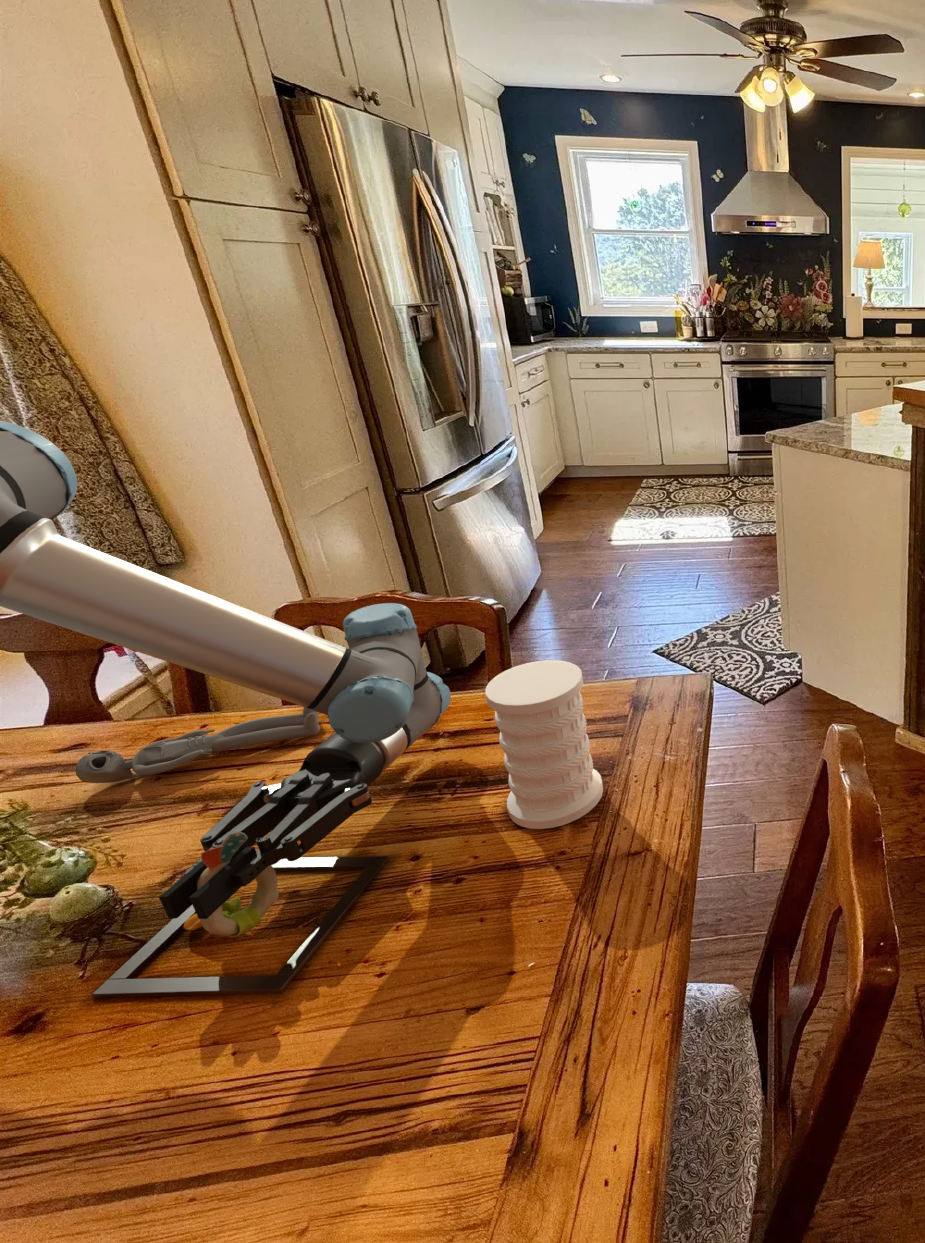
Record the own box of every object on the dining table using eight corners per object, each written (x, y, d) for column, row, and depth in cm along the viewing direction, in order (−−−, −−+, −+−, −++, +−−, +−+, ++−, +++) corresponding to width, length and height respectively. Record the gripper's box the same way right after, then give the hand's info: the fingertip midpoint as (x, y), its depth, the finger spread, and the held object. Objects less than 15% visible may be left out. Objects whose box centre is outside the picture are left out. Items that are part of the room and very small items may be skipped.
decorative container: (487, 811, 91) (459, 691, 85) (561, 762, 101) (540, 651, 94) (552, 840, 87) (527, 717, 80) (622, 786, 97) (605, 671, 90)
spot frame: (93, 998, 67) (91, 994, 67) (239, 861, 83) (237, 858, 82) (282, 993, 68) (280, 989, 68) (390, 858, 84) (389, 855, 83)
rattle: (258, 870, 80) (196, 803, 73) (303, 893, 77) (243, 825, 70) (183, 930, 74) (109, 863, 68) (229, 957, 71) (155, 890, 65)
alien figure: (315, 714, 103) (63, 774, 88) (323, 742, 105) (77, 806, 90) (313, 691, 109) (76, 744, 94) (320, 718, 111) (88, 774, 96)
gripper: (422, 781, 90) (275, 938, 68) (302, 779, 90) (116, 935, 68) (409, 732, 87) (251, 879, 65) (285, 729, 87) (85, 876, 65)
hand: (183, 907), depth 67 cm, fingers closed on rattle, 2 cm apart
